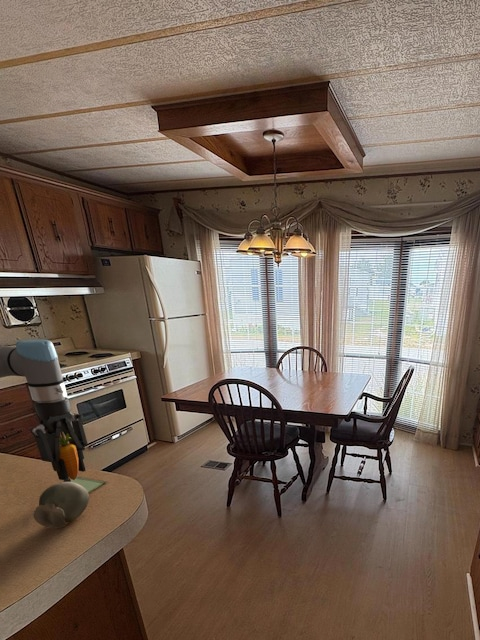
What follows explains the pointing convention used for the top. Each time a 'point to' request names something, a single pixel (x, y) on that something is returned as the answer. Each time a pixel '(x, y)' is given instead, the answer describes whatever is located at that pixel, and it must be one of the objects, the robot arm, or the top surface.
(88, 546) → the top surface
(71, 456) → the carrot
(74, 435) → the robot arm
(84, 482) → the tray
